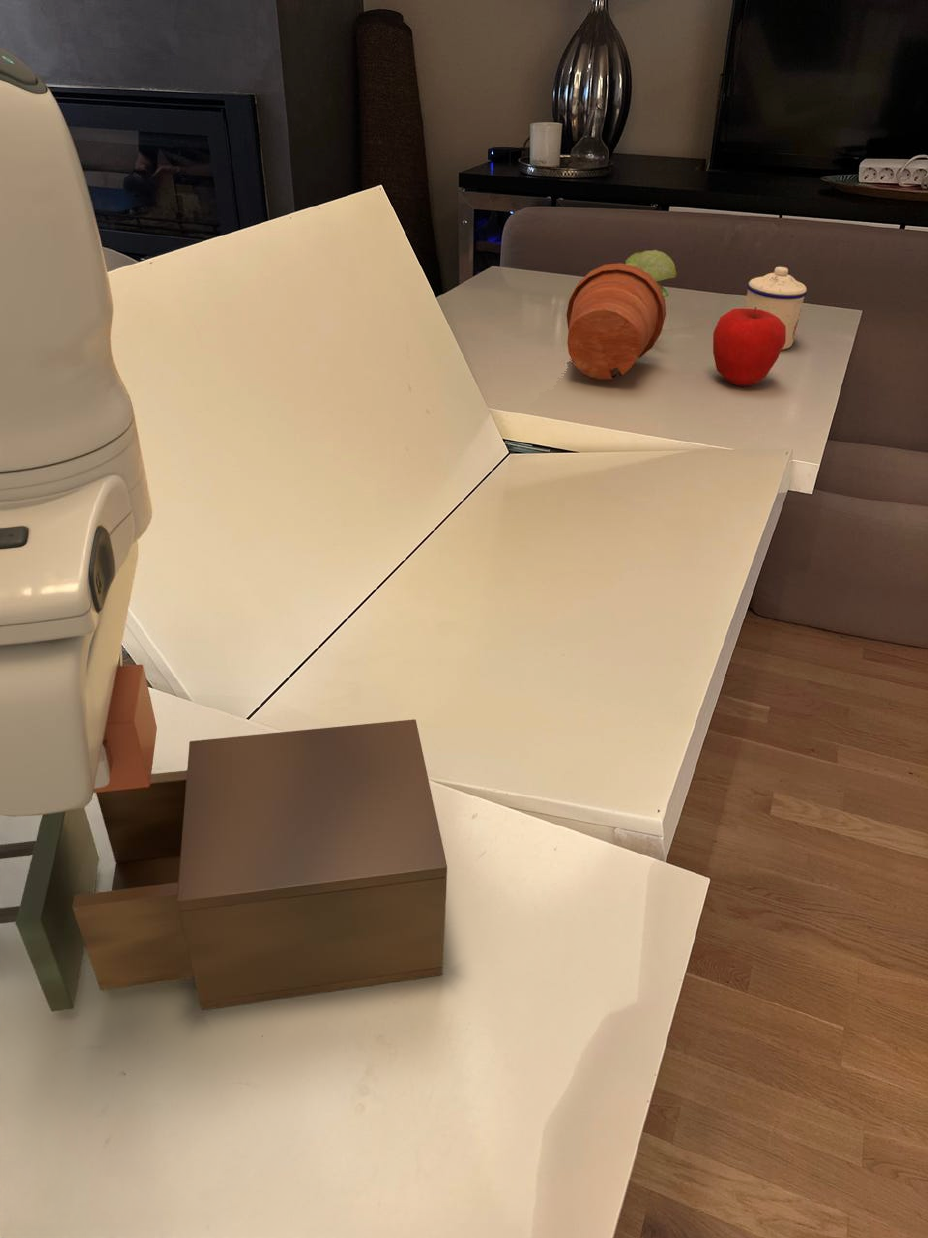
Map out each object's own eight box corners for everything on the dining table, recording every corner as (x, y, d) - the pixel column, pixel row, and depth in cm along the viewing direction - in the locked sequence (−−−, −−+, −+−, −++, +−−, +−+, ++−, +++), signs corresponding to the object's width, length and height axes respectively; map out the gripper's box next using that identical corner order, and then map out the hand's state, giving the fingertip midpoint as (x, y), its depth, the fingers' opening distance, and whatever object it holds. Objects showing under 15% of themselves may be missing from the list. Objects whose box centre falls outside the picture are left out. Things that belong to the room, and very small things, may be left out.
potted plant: (651, 406, 128) (677, 314, 154) (661, 299, 118) (687, 219, 144) (542, 397, 132) (585, 308, 158) (544, 292, 122) (589, 216, 148)
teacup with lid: (803, 350, 145) (823, 275, 138) (751, 352, 143) (768, 276, 137) (769, 326, 155) (785, 255, 148) (719, 328, 153) (734, 255, 146)
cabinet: (201, 1010, 50) (176, 901, 45) (209, 848, 60) (189, 740, 54) (442, 975, 53) (447, 867, 47) (414, 824, 62) (415, 718, 56)
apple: (693, 381, 132) (707, 305, 126) (723, 365, 138) (738, 292, 132) (756, 400, 127) (775, 322, 121) (784, 382, 133) (803, 307, 127)
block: (56, 797, 44) (34, 731, 42) (70, 736, 48) (51, 671, 45) (150, 787, 45) (134, 721, 43) (157, 728, 49) (143, 663, 46)
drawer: (-43, 1026, 48) (-90, 936, 44) (0, 870, 57) (-35, 781, 52) (285, 979, 51) (274, 891, 47) (281, 837, 60) (271, 750, 55)
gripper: (7, 396, 45) (68, 622, 53) (-132, 643, 29) (-13, 914, 37) (139, 391, 46) (180, 613, 54) (78, 627, 30) (148, 894, 38)
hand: (101, 737), depth 45 cm, fingers closed on block, 4 cm apart
